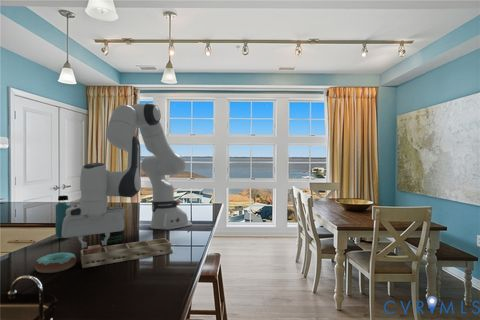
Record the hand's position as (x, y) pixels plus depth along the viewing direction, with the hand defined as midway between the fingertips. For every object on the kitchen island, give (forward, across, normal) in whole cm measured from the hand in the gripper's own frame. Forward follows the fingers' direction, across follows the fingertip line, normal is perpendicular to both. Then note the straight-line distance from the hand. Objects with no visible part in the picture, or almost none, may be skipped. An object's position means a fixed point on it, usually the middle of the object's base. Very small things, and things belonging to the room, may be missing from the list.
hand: (94, 246), depth 106 cm
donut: (+6, +12, +1) cm, 13 cm away
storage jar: (+5, -8, -20) cm, 22 cm away
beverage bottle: (+5, +10, -42) cm, 43 cm away
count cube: (+4, 0, 0) cm, 4 cm away
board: (+5, -11, 0) cm, 12 cm away
